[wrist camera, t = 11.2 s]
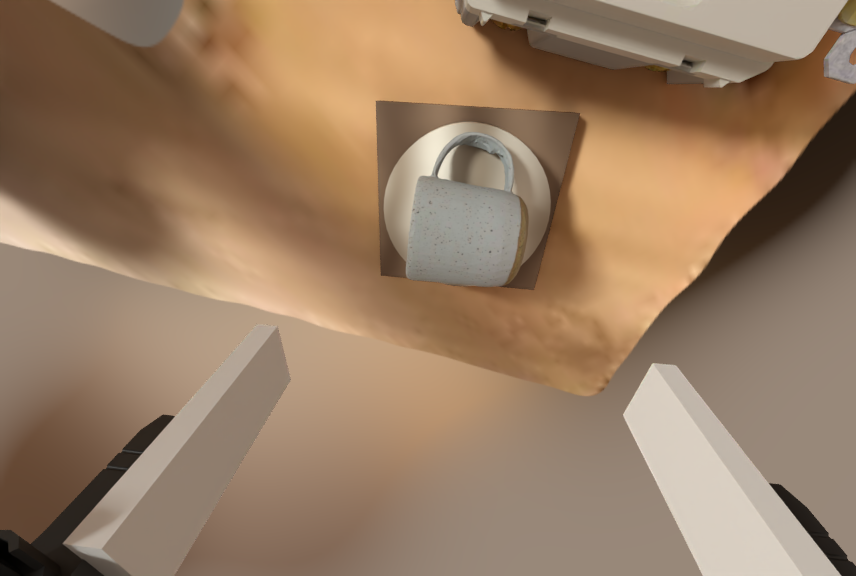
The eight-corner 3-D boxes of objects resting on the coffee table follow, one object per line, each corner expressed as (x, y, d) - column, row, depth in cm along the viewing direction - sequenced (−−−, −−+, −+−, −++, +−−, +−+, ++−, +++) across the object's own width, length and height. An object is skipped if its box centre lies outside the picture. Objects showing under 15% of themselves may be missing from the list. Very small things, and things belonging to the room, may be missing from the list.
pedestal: (383, 270, 35) (375, 286, 32) (379, 100, 27) (368, 101, 24) (531, 284, 34) (538, 302, 31) (575, 112, 26) (590, 115, 23)
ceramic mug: (502, 264, 29) (513, 312, 23) (413, 253, 30) (399, 296, 23) (532, 137, 24) (559, 150, 17) (424, 125, 24) (408, 133, 18)
